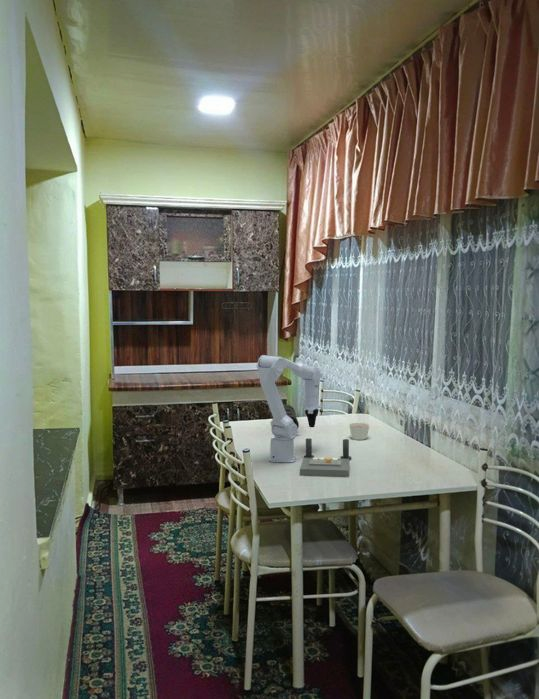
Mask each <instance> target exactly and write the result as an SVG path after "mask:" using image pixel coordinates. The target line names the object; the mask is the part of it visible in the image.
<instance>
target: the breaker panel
mask: <svg viewBox="0 0 539 699" xmlns="http://www.w3.org/2000/svg"><path fill="white" fill-rule="evenodd" d="M301 475H304V476H303V477H305V476H306V477H311V476H312V477H337V478H339V477H340V478H341V477H342V478H349V477H350V461H349V459H340V458H338V457H317V456H314V457H313V458H304V457H303V458H302V461H301V464H300V467H299V476H301Z"/></svg>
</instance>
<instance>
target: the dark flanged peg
mask: <svg viewBox="0 0 539 699" xmlns="http://www.w3.org/2000/svg"><path fill="white" fill-rule="evenodd" d="M349 441H350V440H349V439H348V438H344V439H342V455H341V456H339V459H349V462H350V461H352V456H351V455H350V449H349V448H350V442H349Z"/></svg>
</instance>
